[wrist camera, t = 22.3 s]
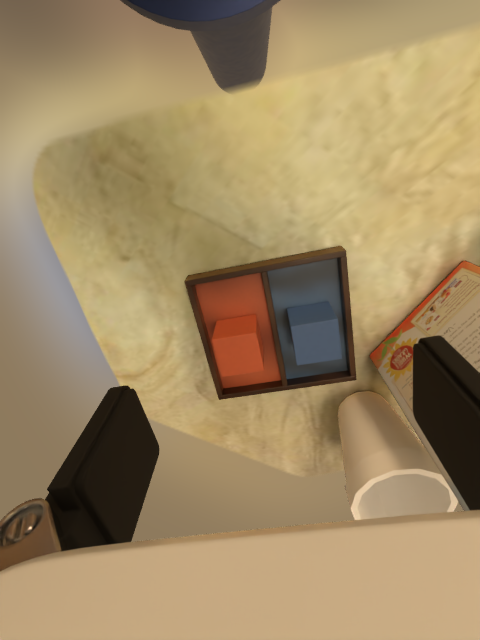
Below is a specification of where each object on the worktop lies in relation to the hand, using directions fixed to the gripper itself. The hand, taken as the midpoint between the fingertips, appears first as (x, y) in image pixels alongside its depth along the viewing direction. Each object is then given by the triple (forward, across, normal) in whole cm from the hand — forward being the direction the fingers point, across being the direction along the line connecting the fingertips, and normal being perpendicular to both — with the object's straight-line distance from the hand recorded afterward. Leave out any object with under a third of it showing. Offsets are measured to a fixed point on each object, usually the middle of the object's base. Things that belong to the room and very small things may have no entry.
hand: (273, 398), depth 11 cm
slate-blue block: (+24, -4, +10) cm, 27 cm away
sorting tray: (+25, 0, +10) cm, 27 cm away
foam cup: (+25, -8, +24) cm, 36 cm away
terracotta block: (+24, +4, +10) cm, 27 cm away
